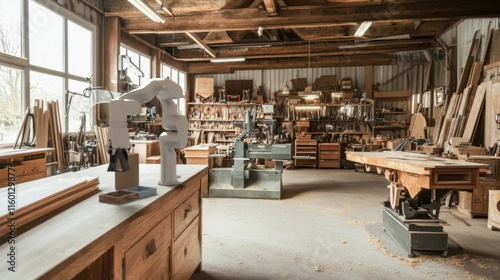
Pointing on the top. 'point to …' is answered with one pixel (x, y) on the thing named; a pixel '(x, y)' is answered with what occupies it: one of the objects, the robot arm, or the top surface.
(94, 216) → the top surface
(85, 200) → the top surface
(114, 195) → the walnut bin
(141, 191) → the slate tray
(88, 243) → the top surface
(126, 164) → the black angular piece
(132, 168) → the block
